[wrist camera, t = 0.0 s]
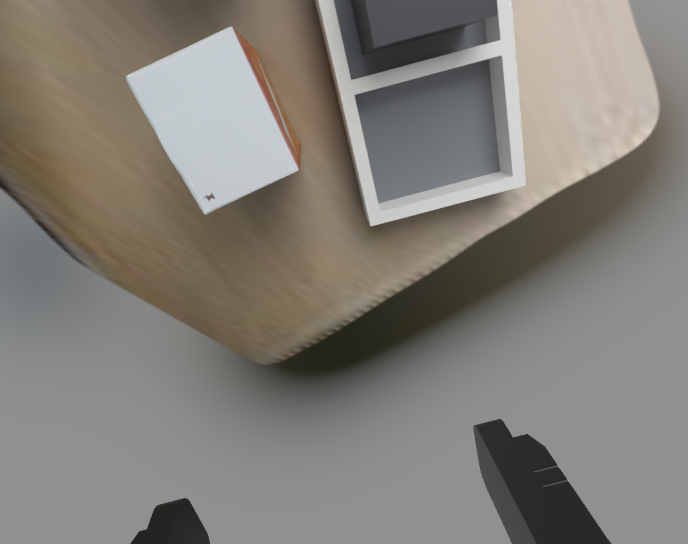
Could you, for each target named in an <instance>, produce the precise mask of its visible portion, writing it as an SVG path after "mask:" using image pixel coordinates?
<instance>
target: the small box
mask: <svg viewBox="0 0 688 544" xmlns="http://www.w3.org/2000/svg"><path fill="white" fill-rule="evenodd" d="M126 81H127V83H128V85H129V87H130V88H131V90H132V92H133V94H134V96H135V98H136V99H137V101H138V103H139V105H140V106H141V108H142V110H143V112H144V113H145V115H146V117H147V119H148V120H149V122H150V124H151V126H152V127H153V129H154V131H155V133H156V134H157V136H158V138H159V140H160V142H161V144H162V146H163V148H164V150H165V152H166V153H167V155H168V157H169V158H170V160H171V161H172V163H173V165H174V166H175V168H176V169H177V171H178V172H179V174H180V175H181V177H182V178H183V180H184V182H185V183H186V185H187V187H188V188H189V190H190V192H191V193H192V195H193V197H194V198H195V200H196V202H197V203H198V205H199V207H200V208H201V210H202V212H203V213H204V214H205V215H207V214H209V213H211V212H213V211H215V210H217V209H219V208H221V207H223V206H225V205H227V204H229V203H231V202H233V201H235V200H237V199H240V198H242V197H244V196H246V195H248V194H250V193H252V192H254V191H256V190H258V189H260V188H263V187H265V186H267V185H269V184H271V183H273V182H275V181H277V180H279V179H282V178H284V177H286V176H288V175H290V174H292V173H295V172H297V171H299V170H300V152H301V144H300V142H299V140H298V138H297V136H296V135H295V133H294V131H293V128H292V126H291V124H290V122H289V120H288V118H287V116H286V114H285V112H284V109H283V107H282V105H281V103H280V101H279V99H278V96H277V94H276V92H275V90H274V88H273V85H272V83H271V81H270V79H269V77H268V75H267V72H266V70H265V68H264V65H263V63H262V61H261V59H260V56H259V54H258V52H257V50H256V49H255V48H254V47H253V46H252V45H251V44H250V43H249V42H247V41H246V40H245V39H244V38H243V37H242V36H241V35H240V34H239V33H238V32H237V31H236V30H235V29H234V28H233V27H228V28H226V29H224V30H222V31H220V32H218V33H216V34H213V35H211V36H209V37H207V38H205V39H203V40H201V41H199V42H196V43H194V44H192V45H190V46H188V47H186V48H184V49H182V50H180V51H177V52H175V53H173V54H171V55H169V56H167V57H165V58H163V59H160V60H158V61H156V62H154V63H152V64H150V65H148V66H145V67H143V68H141V69H139V70H137V71H135V72H133V73H131V74H129V75H127V76H126Z"/></svg>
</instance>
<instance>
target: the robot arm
mask: <svg viewBox="0 0 688 544" xmlns="http://www.w3.org/2000/svg"><path fill="white" fill-rule="evenodd" d="M474 434H475V441H476V448H477V453H478V459H479V466H480V470H481V474H482V477H483V479H484V483H485V485H486V488H487V490H488V492H489V494H490V497H491V499H492V501H493V503H494V505H495V508H496V509H497V512H498V514H499V516H500V518H501V520H502V523H503V525H504V527H505V529H506V531H507V534H508V536H509V538H510V540H511V542H512V544H611V543H610V541H609V540H608V539H607V538H606V536H605V535H604V533H603V532H602V530H601V529H600V527H599V526H598V524H597V523H596V521H595V520H594V519H593V517H592V515H591V514H590V512H589V511H588V510H587V508H586V507H585V505H584V504H583V502H582V501H581V499H580V498H579V496H578V495H577V493H576V492H575V490H574V489H573V487H572V486H571V485H570V483H569V482H568V481H567V478H566V477H565V476H564V474H563V473H562V471H561V470H560V468H558V466H557V464H556V462H555V461H554V459H553V458H552V456H551V455H550V453H549V452H548V450H547V449H546V447H545V446H543V445H542V444H540V443H539V442H538V441H536V440H535V439H534V438H532V437H531V436H529V435H528V434H526V435H521V436H518V437H514V438H513V437H512V435H511V434H510V432H509V430H508V428H507V427H506V425H505V424H504V422H503V421H502V420H501V419H497V420H494V421H490V422H486V423H482V424H478V425H474ZM131 544H210V541H209V537H208V534H207V532H206V530H205V528H204V526H203V524H202V523H201V521H200V519H199V517H198V515H197V514H196V512H195V510H194V508H193V506H192V504H191V503H190V501H189V500H188V499H186V498H183V499H179V500H175V501H172V502H168V503H164V504H160V505H158V506H156V508H155V509H154V511H153V514H152V517H151V519H150V522H149V525H148V528H147V530H143V531H139V532H138V534H137V535H136V537H135V538H134V540H133V541H132V542H131Z"/></svg>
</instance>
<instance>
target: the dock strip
mask: <svg viewBox="0 0 688 544" xmlns="http://www.w3.org/2000/svg"><path fill="white" fill-rule="evenodd" d="M314 2H315V6H316V10H317V14H318V19H319V23H320V27H321V31H322V36H323V40H324V44H325V48H326V53H327V57H328V61H329V65H330V70H331V74H332V78H333V82H334V87H335V91H336V95H337V99H338V104H339V108H340V112H341V116H342V121H343V125H344V129H345V133H346V138H347V142H348V146H349V150H350V155H351V159H352V163H353V167H354V172H355V176H356V180H357V184H358V189H359V193H360V197H361V201H362V206H363V210H364V214H365V216H366V218H367V220H368V222H369V224H370V226H375V225H379V224H382V223H386V222H390V221H394V220H397V219H401V218H405V217H409V216H413V215H416V214H420V213H424V212H428V211H432V210H435V209H439V208H443V207H447V206H450V205H454V204H458V203H462V202H466V201H469V200H473V199H477V198H481V197H484V196H488V195H492V194H496V193H500V192H503V191H507V190H511V189H515V188H518V187H522V186H526V178H525V166H524V153H523V140H522V128H521V115H520V103H519V90H518V77H517V65H516V52H515V40H514V27H513V14H512V2H511V0H314Z"/></svg>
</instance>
